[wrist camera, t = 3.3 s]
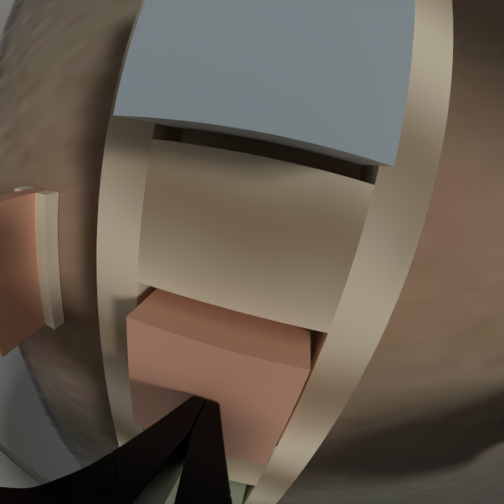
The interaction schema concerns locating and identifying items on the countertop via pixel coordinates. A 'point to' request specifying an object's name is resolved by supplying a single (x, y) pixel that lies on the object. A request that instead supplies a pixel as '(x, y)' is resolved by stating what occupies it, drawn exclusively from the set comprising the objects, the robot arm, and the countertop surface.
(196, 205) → the button panel
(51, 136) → the countertop surface
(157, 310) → the terracotta button
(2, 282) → the terracotta sign
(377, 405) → the countertop surface
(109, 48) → the countertop surface
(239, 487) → the sage button
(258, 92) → the slate button
